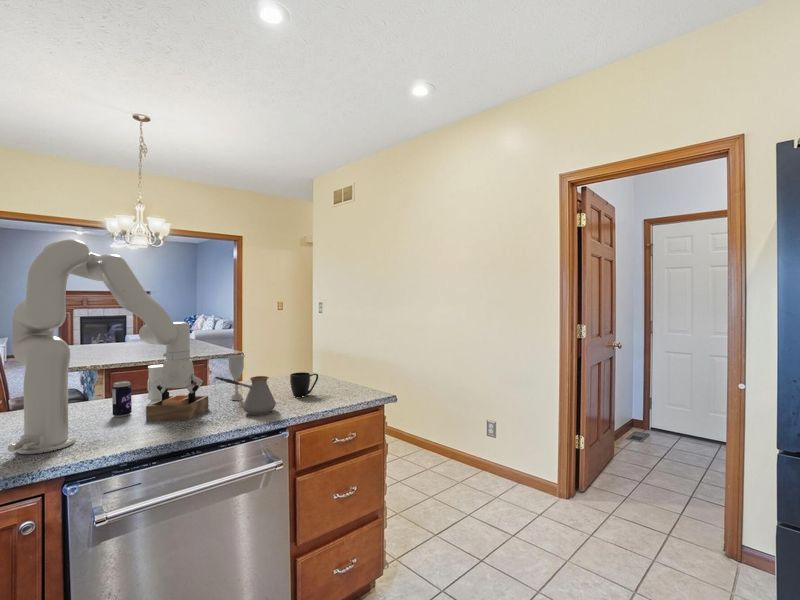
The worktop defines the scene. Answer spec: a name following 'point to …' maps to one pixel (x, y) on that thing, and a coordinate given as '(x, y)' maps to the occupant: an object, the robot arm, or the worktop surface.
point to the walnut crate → (176, 410)
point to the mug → (301, 383)
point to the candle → (154, 374)
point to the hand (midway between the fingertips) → (178, 403)
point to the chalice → (236, 372)
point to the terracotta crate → (176, 400)
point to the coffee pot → (256, 396)
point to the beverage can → (121, 398)
